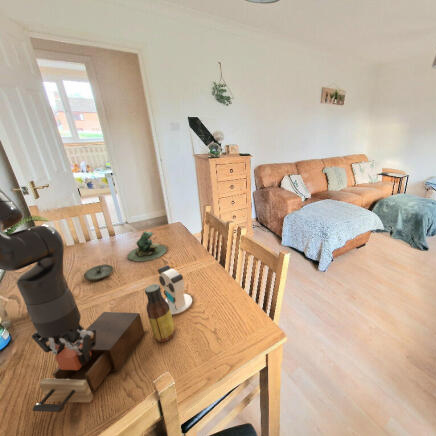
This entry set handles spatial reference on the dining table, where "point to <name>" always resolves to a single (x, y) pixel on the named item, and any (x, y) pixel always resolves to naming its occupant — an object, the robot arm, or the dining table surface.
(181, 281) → the panda figurine
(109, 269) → the lid
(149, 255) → the frog figurine
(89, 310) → the dining table surface
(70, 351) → the block
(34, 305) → the robot arm
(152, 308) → the sauce bottle
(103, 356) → the drawer
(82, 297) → the dining table surface
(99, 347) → the cabinet
